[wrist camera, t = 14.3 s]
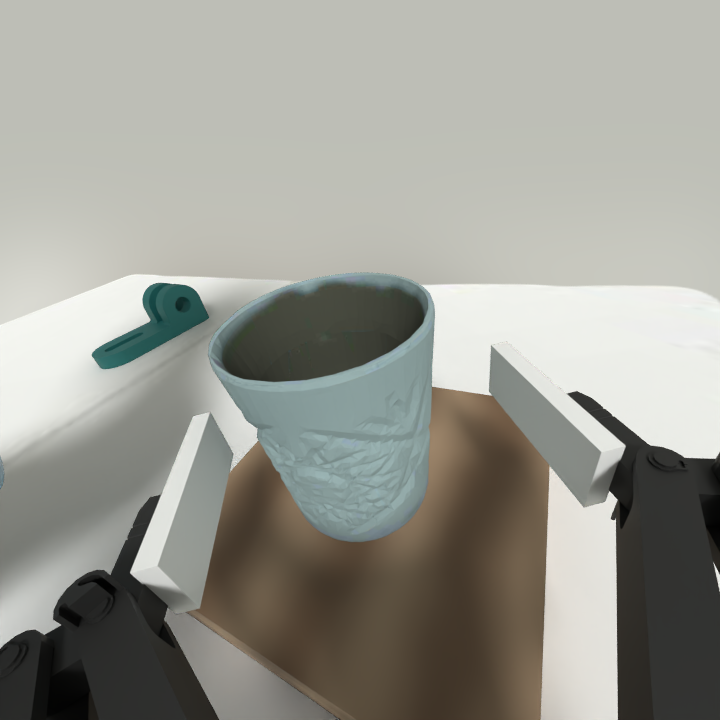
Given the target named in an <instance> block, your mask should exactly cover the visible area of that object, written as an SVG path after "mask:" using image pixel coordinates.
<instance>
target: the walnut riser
mask: <svg viewBox="0 0 720 720" xmlns="http://www.w3.org/2000/svg"><path fill="white" fill-rule="evenodd" d="M429 431H430V447H429V473H428V485H427V489H426V493H425V496H424V499H423V502H422V504H421V506H420V508H419V509H418V510H417V512H416V513H415V515H414V516H413V517H412V518H411V519H410V520H409V521H408V522H407V523H406V524H405V525H404V526H402V527H401V528H400V529H398V530H397V531H395V532H393V533H391V534H389V535H387V536H385V537H382V538H379V539H376V540H371V541H365V542H347V541H341V540H337V539H334V538H331V537H329V536H327V535H325V534H323V533H321V532H320V531H318V530H317V529H316V528H314V527H313V526H312V525H311V524H310V523H309V522H308V521H307V520H306V519H305V517H304V516H303V514H302V512H301V511H300V509H299V507H298V506H297V504H296V502H295V501H294V499H293V497H292V495H291V493H290V491H288V489H287V487H286V486H285V484H284V482H283V481H282V479H281V475H280V473H279V472H278V471H276V469H275V467H274V466H273V464H272V462H271V459H270V458H269V457H268V455H267V454H266V452H265V450H264V448H263V447H262V445H261V444H260V442H259V441H258V442H257V443H256V444H255V445H254V446H253V447H252V449H251V450H250V451H249V452H248V453H247V454H246V455H245V456H244V457H243V459H242V460H241V461H240V462H239V463H238V464H237V465H236V466H235V467H234V469H233V470H232V471H231V472H230V473H229V476H228V481H227V486H226V490H225V495H224V499H223V504H222V509H221V513H220V518H219V522H218V527H217V532H216V536H215V541H214V545H213V550H212V555H211V559H210V564H209V569H208V573H207V578H206V582H205V587H204V592H203V596H202V601H201V605H200V608H199V609H195V610H191V611H188V612H187V613H188V614H190V615H191V616H193V617H194V618H195V619H197V620H198V621H200V622H201V623H203V624H204V625H205V626H207V627H208V628H210V629H211V630H213V631H214V632H215V633H217V634H218V635H220V636H221V637H223V638H224V639H225V640H227V641H228V642H230V643H231V644H233V645H234V646H235V647H237V648H238V649H240V650H241V651H243V652H244V653H246V654H247V655H248V656H250V657H251V658H253V659H254V660H256V661H257V662H258V663H260V664H261V665H263V666H264V667H266V668H267V669H268V670H270V671H271V672H273V673H274V674H276V675H277V676H278V677H280V678H281V679H283V680H284V681H286V682H287V683H288V684H290V685H291V686H293V687H294V688H296V689H297V690H298V691H300V692H301V693H303V694H304V695H306V696H307V697H309V698H310V699H311V700H313V701H314V702H316V703H317V704H319V705H320V706H321V707H323V708H324V709H326V710H327V711H329V712H330V713H331V714H333V715H334V716H336V717H337V718H339V719H340V720H540V717H541V689H542V660H543V632H544V604H545V576H546V548H547V520H548V492H549V464H548V463H547V462H546V460H545V459H544V458H543V457H542V456H541V454H540V453H539V452H538V451H537V449H536V448H535V447H534V446H533V445H532V443H531V442H530V441H529V440H528V438H527V437H526V436H525V435H524V434H523V432H522V431H521V430H520V429H519V427H518V426H517V425H516V424H515V423H514V421H513V420H512V419H511V418H510V416H509V415H508V414H507V413H506V412H505V410H504V409H503V408H502V407H501V405H500V404H499V403H498V402H497V401H496V399H495V398H494V397H493V396H489V395H483V394H476V393H469V392H463V391H456V390H449V389H443V388H436V387H432V399H431V419H430V424H429Z"/></svg>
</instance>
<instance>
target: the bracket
mask: <svg viewBox="0 0 720 720" xmlns="http://www.w3.org/2000/svg"><path fill="white" fill-rule="evenodd" d="M143 306H144V309H145V310H146V312H147V314H148V316H149V317H150V319H151V321H150V322H149V323H147V324H145V325H143V326H140V327H138V328H136V329H134V330H132V331H130V332H128V333H126V334H124V335H122V336H120V337H118V338H116V339H114V340H112V341H110V342H108V343H106V344H104V345H102V346H100V347H99V348H97V349H96V350H95V351H94V352H93V353H92V357H93V358H94V359H95V361H96V362H97V364H98V365H99V366H100V368H102V369H110V368H115V367H118V366H121V365H124V364H126V363H129V362H131V361H132V360H134V359H136V358H138V357H140V356H142V355H143V354H145V353H147V352H149V351H151V350H152V349H154V348H156V347H158V346H160V345H162V344H163V343H165V342H167V341H169V340H171V339H172V338H174V337H176V336H178V335H180V334H182V333H183V332H185V331H187V330H189V329H191V328H192V327H194V326H196V325H198V324H200V323H202V322H203V321H205V320H207V319H209V316H208V314H207V312H206V310H205V308H204V305H203V303H202V301H201V299H200V297H199V295H198V293H197V292H196V291H195V290H194V289H193V288H191V287H189V286H186V285H179V284H168V283H156V284H153V285H151V286H150V287H148V288H147V289H146V291H145V292H144V295H143Z"/></svg>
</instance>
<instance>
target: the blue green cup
mask: <svg viewBox="0 0 720 720" xmlns="http://www.w3.org/2000/svg"><path fill="white" fill-rule="evenodd" d="M434 320H435V309H434V303H433V300H432V298H431V295H430V293H429V292H428V291H427V290H426V289H425V288H424V287H422V286H421V285H419V284H418V283H416V282H414V281H412V280H409V279H406V278H404V277H399V276H396V275H390V274H380V273H348V274H338V275H331V276H325V277H319V278H315V279H311V280H306V281H302V282H298V283H294V284H292V285H289V286H286V287H283V288H280V289H277V290H275V291H273V292H270V293H268V294H266V295H263V296H261V297H259V298H258V299H256V300H254V301H252V302H250V303H249V304H247V305H245V306H244V307H242V308H241V309H239V310H238V311H236V312H235V314H234V315H233V316H231V317H230V318H229V319H228V320H227V321H226V322H225V323H224V324H223V325H222V326H221V327H220V328H219V329H218V330H217V331H216V333H215V334H214V335H213V338H212V340H211V342H210V344H209V352H208V356H209V360H210V363H211V366H212V368H213V370H214V372H215V373H216V375H217V376H218V378H219V380H220V381H221V383H222V384H223V386H224V387H225V389H226V390H227V392H228V393H229V395H230V396H231V398H232V399H233V401H234V402H235V404H236V405H237V407H238V408H239V409H240V410H241V411H242V413H243V415H244V417H245V419H246V420H247V421H248V422H249V423H250V424H252V425H253V426H255V427H256V428H258V432H257V438H258V440H259V442H260V444H261V445H262V447H263V448H264V450H265V452H266V454H267V455H268V457H269V458H270V459H271V462H272V464H273V466H274V467H275V469H276V471H278V472H279V473H280V475H281V479H282V481H283V482H284V484H285V486H286V487H287V489H288V491H290V493H291V495H292V497H293V499H294V501H295V502H296V504H297V506H298V507H299V509H300V511H301V512H302V514H303V516H304V517H305V519H306V520H307V521H308V522H309V523H310V524H311V525H312V526H313V527H314V528H316V529H317V530H318V531H320V532H321V533H323V534H325V535H327V536H329V537H331V538H334V539H337V540H341V541H347V542H365V541H371V540H376V539H379V538H382V537H385V536H387V535H389V534H391V533H393V532H395V531H397V530H398V529H400V528H401V527H402V526H404V525H405V524H406V523H407V522H408V521H409V520H410V519H411V518H412V517H413V516H414V515H415V513H416V512H417V510H418V509H419V508H420V506H421V504H422V502H423V499H424V496H425V493H426V489H427V485H428V473H429V447H430V431H429V424H430V419H431V399H432V359H433V342H434Z"/></svg>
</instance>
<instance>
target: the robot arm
mask: <svg viewBox="0 0 720 720" xmlns="http://www.w3.org/2000/svg"><path fill="white" fill-rule="evenodd" d="M489 392H490V393H491V394H492V396H493V397H494V398H495V399H496V401H497V402H498V403H499V404H500V405H501V407H502V408H503V409H504V410H505V412H506V413H507V414H508V415H509V416H510V418H511V419H512V420H513V421H514V423H515V424H516V425H517V426H518V427H519V429H520V430H521V431H522V432H523V434H524V435H525V436H526V437H527V438H528V440H529V441H530V442H531V443H532V445H533V446H534V447H535V448H536V449H537V451H538V452H539V453H540V454H541V456H542V457H543V458H544V459H545V460H546V462H547V463H548V464H549V465H550V467H551V468H552V469H553V470H554V471H555V473H556V474H557V475H558V476H559V478H560V479H561V480H562V481H563V482H564V484H565V485H566V486H567V487H568V489H569V490H570V491H571V492H572V493H573V495H574V496H575V497H576V498H577V500H578V501H579V502H580V503H581V504H582V506H583V507H587V506H591V505H595V504H598V503H602V502H605V501H606V498H607V495H608V493H609V491H610V492H611V493H612V494H613V495H614V496H615V497H616V498H617V499H618V501H617V503H616V506H615V508H614V511H613V513H612V516H611V519H612V520H615V518H616V563H617V667H618V720H720V591H719V587H718V582H717V577H716V573H715V568H714V564H715V566H716V568H717V570H718V572H719V574H720V453H719V454H718V456H717V458H716V459H700V458H684V457H683V456H681V455H680V454H678V453H676V452H674V451H672V450H669V449H666V448H663V447H657V446H650V445H649V444H647V443H646V442H645V441H644V440H642V439H641V438H640V437H639V436H637V435H636V434H635V433H634V432H633V431H631V430H630V429H629V428H628V427H626V426H625V425H624V424H623V423H622V422H620V421H619V420H618V419H617V418H615V417H613V416H612V414H611V413H609V412H608V411H607V410H606V409H603V407H602V406H601V405H600V404H598V403H597V402H596V401H595V400H593V399H592V398H590V397H588V396H586V395H584V394H582V393H580V392H577V391H576V392H572V393H568V394H566V393H565V392H564V391H563V390H562V389H561V388H559V387H558V386H557V385H556V384H555V383H554V382H553V381H551V380H550V379H549V378H548V377H547V376H546V375H545V374H543V373H542V372H541V371H540V370H539V369H538V368H537V367H535V366H534V365H533V364H532V363H531V362H530V361H529V360H528V359H526V358H525V357H524V356H523V355H522V354H521V353H520V352H518V351H517V350H516V349H515V348H514V347H513V346H512V345H510V344H509V343H508V342H502V343H498V344H494V345H491V360H490V381H489ZM232 458H233V452H232V450H231V449H230V447H229V445H228V443H227V441H226V440H225V438H224V436H223V434H222V432H221V431H220V429H219V427H218V425H217V423H216V422H215V420H214V418H213V416H212V414H211V413H210V412H208V413H204V414H200V415H196V416H193V418H192V420H191V423H190V425H189V428H188V430H187V433H186V435H185V438H184V440H183V442H182V445H181V447H180V450H179V452H178V455H177V457H176V460H175V462H174V465H173V467H172V470H171V472H170V475H169V477H168V480H167V482H166V485H165V487H164V490H163V492H162V494H161V495H158V496H154V497H150V498H149V499H148V501H147V502H146V503H145V504H144V506H143V507H142V508H141V509H140V511H139V512H138V515H137V517H136V519H135V521H134V524H133V528H131V530H130V533H129V535H128V540H126V541H125V544H124V546H123V548H122V550H121V553H120V555H119V557H118V559H117V562H116V564H115V566H114V568H113V570H112V573H111V575H109V574H108V573H107V572H105V571H104V570H95V571H92V572H89V573H87V574H85V575H84V576H82V577H80V578H79V579H77V580H76V581H75V582H74V583H73V584H72V585H71V586H70V587H69V588H67V589H66V591H65V592H64V593H63V595H62V596H61V597H60V599H59V600H58V602H57V605H56V607H55V609H54V615H53V620H55V621H56V622H58V623H60V624H61V626H59V627H58V628H56V629H54V630H52V631H51V632H49V633H47V634H45V635H44V634H42V633H40V632H38V631H36V630H28V631H25V632H23V633H21V634H19V635H17V636H15V637H14V638H12V639H11V640H10V641H9V642H7V643H6V644H5V645H4V646H3V647H2V648H1V649H0V720H219V718H218V716H217V715H216V713H215V711H214V709H213V707H212V705H211V703H210V702H209V700H208V698H207V696H206V694H205V692H204V690H203V689H202V687H201V685H200V683H199V681H198V679H197V677H196V676H195V674H194V672H193V670H192V668H191V666H190V664H189V663H188V661H187V659H186V657H185V655H184V653H183V651H182V650H181V648H180V646H179V644H178V642H177V640H176V638H175V636H174V635H173V633H172V631H171V629H170V627H169V625H168V624H167V623H166V622H165V621H164V618H165V614H166V611H167V607H168V608H170V609H171V610H172V611H173V612H174V613H175V614H180V613H184V612H188V611H191V610H195V609H199V608H200V605H201V601H202V596H203V592H204V587H205V582H206V578H207V573H208V569H209V564H210V559H211V555H212V550H213V545H214V541H215V536H216V532H217V527H218V522H219V518H220V513H221V509H222V504H223V499H224V495H225V490H226V486H227V481H228V476H229V472H230V467H231V462H232ZM3 482H4V468H3V463H2V460H1V457H0V489H1V487H2V485H3ZM713 562H714V564H713Z"/></svg>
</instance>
